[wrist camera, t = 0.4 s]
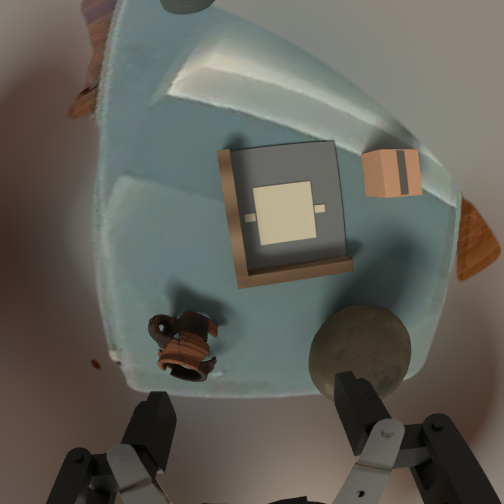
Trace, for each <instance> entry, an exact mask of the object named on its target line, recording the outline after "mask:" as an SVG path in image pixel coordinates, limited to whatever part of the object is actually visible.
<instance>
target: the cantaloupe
mask: <svg viewBox="0 0 504 504" xmlns="http://www.w3.org/2000/svg"><path fill="white" fill-rule="evenodd" d="M410 358H411V341H410V336H409V333H408V331H407V329H406V328H405V326H404V325H403V323H402V322H401V321H400V319H399V318H398V317H397V316H396V315H395V314H393V313H392V312H391V311H389V310H388V309H385V308H383V307H379V306H375V305H367V304H363V305H351V306H348V307H345V308H343V309H341V310H340V311H339V312H337V313H336V314H334V315H332V316H331V317H329V318H328V319H327V320H326V321H325V322H324V323H323V325H322V326H321V328H320V329H319V330H318V332H317V333H316V335H315V337H314V339H313V341H312V344H311V349H310V355H309V373H310V376H311V379H312V381H313V383H314V385H315V386H316V388H317V389H318V390H319V391H320V392H321V393H322V394H323V395H324V396H325V397H327V398H328V399H329V400H331V401H332V402H334V384H335V374H336V373H340V372H344V371H349V370H351V371H352V372H353V374H354V376H355V378H356V379H359V378H364V379H366V380H367V381H369V382H370V383H371V384H372V386H373V388H374V389H375V391H376V393H377V394H378V397H379V398H380V399H381V400H382V399H384V398H385V397H386V396H388V395H389V394H391V393H392V392H393V391H394V390H395V389H396V388H397V387H398V386H399V385H400V383H401V382H402V380H403V378H404V377H405V375H406V373H407V370H408V367H409V363H410Z"/></svg>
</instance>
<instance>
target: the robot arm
mask: <svg viewBox="0 0 504 504" xmlns="http://www.w3.org/2000/svg"><path fill="white" fill-rule="evenodd" d="M214 1H215V0H160V2H161V4H162V6H163V7H164V9H165V10H167V11H168V12H171V13H175V14H189V13H194V12H197V11H200V10H202V9H204V8H206V7H208V6H209V5H211V4H212V3H213V2H214ZM334 403H335V407H336V409H337V412H338V415H339V417H340V420H341V422H342V425H343V427H344V430H345V432H346V435H347V438H348V440H349V442H350V445H351V448H352V450H353V453H354V455H355V456H358V455H360V457H359V459H358V461H357V463H355V464H354V466H353V468H352V470H351V471H350V473H349V475H348V477H347V479H346V481H345V482H344V484H343V486H342V488H341V489H340V491H339V493H338V495H337V496H336V498H335V499H334V501H333V503H332V504H378V502H379V501H380V498H381V496H382V494H383V492H384V489H385V487H386V485H387V482H388V480H389V477H390V474H391V472H392V469H394V468H404V467H409V468H410V470H411V473H412V475H413V477H414V480H415V482H416V484H417V487H418V489H419V492H420V494H421V497H422V499H423V502H424V504H501V502H500V500H499V498H498V496H497V494H496V493H495V491H494V489H493V487H492V486H491V483H490V482H489V480H488V478H487V476H486V475H485V473H484V471H483V469H482V468H481V466H480V465H479V463H478V461H477V459H476V458H475V456H474V454H473V453H472V451H471V450H470V448H469V447H468V445H467V443H466V442H465V440H464V439H463V437H462V436H461V434H460V433H459V431H458V429H457V428H456V426H455V425H454V423H453V422H452V420H451V419H450V418H449V417H448V416H446V415H444V414H432V415H430V416H428V417H427V418H426V419H425V421H424V422H423V423H422V424H413V425H403V424H402V423H401V422H400V421H398V420H395V419H392V418H391V416H390V414H389V413H388V411H387V410H386V408H385V406H384V404H383V403H382V401H381V399H380V398H379V397H378V394H377V393H376V391H375V389H374V388H373V386H372V384H371V383H370V382H369V381H367V380H366V379H364V378H359V379H356V378H355V376H354V374H353V372H352V371H351V370H349V371H344V372H340V373H336V374H335V384H334ZM176 422H177V420H176V414H175V410H174V408H173V406H172V403H171V401H170V398H169V396H168V394H167V392H165V391H151V392H150V394H149V396H148V399H147V401H142V402H141V403H140V404H139V405H138V406H137V407H136V408H135V410H134V412H133V416H132V417H131V420H130V423H129V424H128V427H127V429H126V431H125V434H124V436H123V439H122V441H121V444H118V445H115V446H113V447H111V448H110V449H109V451H108V452H107V453H104V454H94V455H91V453H90V452H89V451H88V450H87V449H85V448H81V447H78V448H74V449H72V450H71V451H70V452H68V454H67V456H66V458H65V460H64V462H63V464H62V467H61V469H60V471H59V474H58V476H57V478H56V481H55V483H54V485H53V488H52V490H51V493H50V495H49V498H48V500H47V503H46V504H114V502H115V498H116V494H117V493H118V492H119V493H120V496H121V498H122V500H123V501H124V504H172V502H171V501H170V499H169V498H168V497H167V496H166V494H165V492H164V491H163V490H162V488H161V486H160V485H159V483H158V482H157V480H156V479H155V477H156V473H163V474H165V470H166V465H167V461H168V457H169V453H170V448H171V444H172V440H173V436H174V431H175V427H176ZM203 504H207V503H203ZM269 504H325V503H320V502H309V501H307V496H304V497H298V498H291V499H284V500H279V501H276V502H272V503H269Z"/></svg>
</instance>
